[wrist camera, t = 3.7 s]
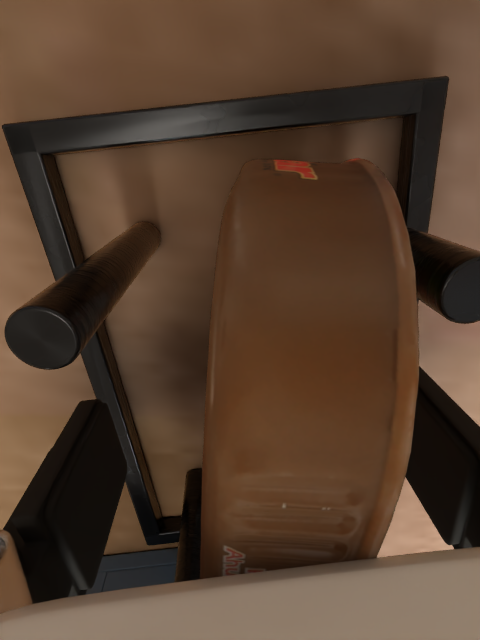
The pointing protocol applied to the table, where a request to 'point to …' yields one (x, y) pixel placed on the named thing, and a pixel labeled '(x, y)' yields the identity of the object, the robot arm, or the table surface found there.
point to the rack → (144, 238)
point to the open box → (135, 570)
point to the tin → (307, 368)
